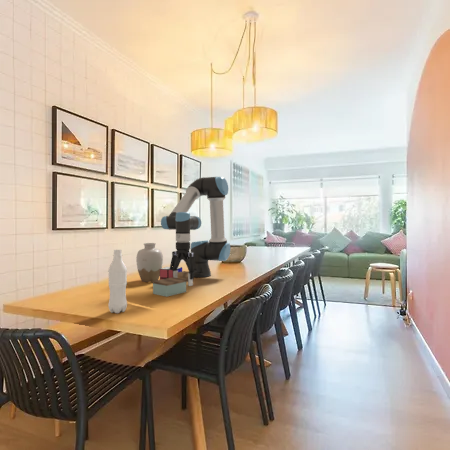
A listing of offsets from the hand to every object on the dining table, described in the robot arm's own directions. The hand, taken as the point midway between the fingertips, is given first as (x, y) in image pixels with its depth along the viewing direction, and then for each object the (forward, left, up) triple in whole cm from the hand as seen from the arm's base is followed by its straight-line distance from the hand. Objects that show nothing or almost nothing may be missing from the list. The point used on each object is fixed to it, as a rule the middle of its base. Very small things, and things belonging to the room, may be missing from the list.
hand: (183, 284), depth 170 cm
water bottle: (+43, +6, -4) cm, 44 cm away
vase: (-9, -37, -4) cm, 38 cm away
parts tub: (+9, 0, -4) cm, 10 cm away
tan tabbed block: (+7, 0, +1) cm, 7 cm away
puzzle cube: (-7, -16, -4) cm, 18 cm away
